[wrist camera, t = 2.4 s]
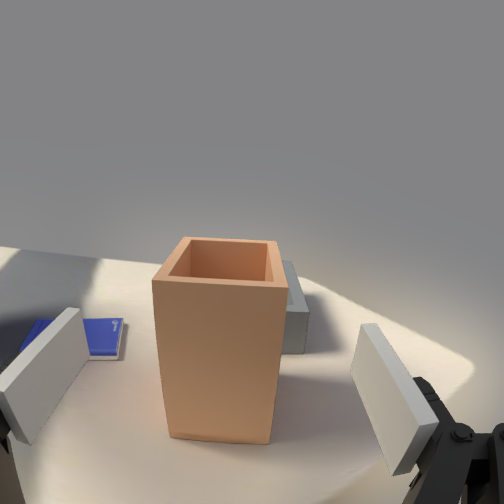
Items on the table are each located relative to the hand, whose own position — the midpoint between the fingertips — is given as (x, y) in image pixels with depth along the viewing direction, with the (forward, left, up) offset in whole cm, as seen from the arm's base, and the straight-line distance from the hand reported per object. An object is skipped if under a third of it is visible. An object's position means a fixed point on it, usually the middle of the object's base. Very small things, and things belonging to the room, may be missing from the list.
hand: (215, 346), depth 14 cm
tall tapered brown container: (0, +10, -13) cm, 17 cm away
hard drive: (-19, +17, -14) cm, 29 cm away
